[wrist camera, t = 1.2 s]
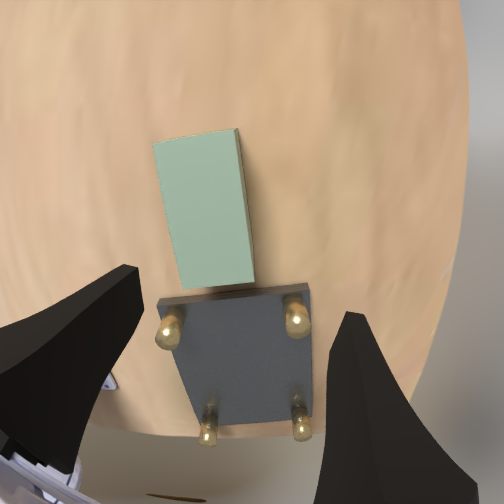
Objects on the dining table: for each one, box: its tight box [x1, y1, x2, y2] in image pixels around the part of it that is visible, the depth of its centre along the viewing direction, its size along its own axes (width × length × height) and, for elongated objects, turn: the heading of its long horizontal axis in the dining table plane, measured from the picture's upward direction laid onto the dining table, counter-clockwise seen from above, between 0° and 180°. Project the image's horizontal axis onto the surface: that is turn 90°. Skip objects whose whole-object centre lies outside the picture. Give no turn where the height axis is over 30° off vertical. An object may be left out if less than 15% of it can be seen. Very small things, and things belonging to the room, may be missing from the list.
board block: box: [153, 128, 255, 289], centre depth 18 cm, size 4×8×5 cm, turn 7°
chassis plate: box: [155, 283, 312, 448], centre depth 24 cm, size 11×15×4 cm
